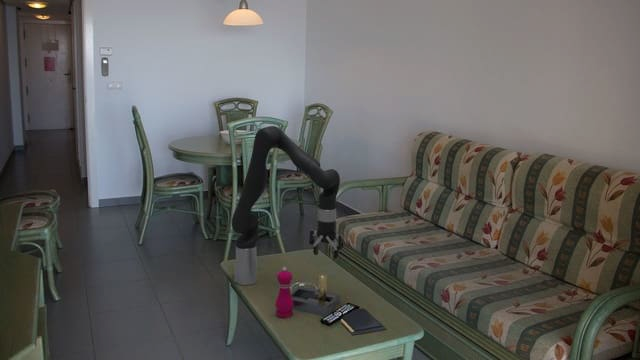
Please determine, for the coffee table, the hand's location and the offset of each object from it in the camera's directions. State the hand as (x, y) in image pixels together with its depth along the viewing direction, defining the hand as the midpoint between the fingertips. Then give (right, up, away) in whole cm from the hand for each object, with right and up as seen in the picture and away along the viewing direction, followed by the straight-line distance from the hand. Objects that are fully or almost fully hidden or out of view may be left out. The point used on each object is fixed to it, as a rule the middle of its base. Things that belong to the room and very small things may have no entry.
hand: (325, 256), depth 231 cm
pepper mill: (-17, -23, -5) cm, 29 cm away
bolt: (-2, -21, +2) cm, 21 cm away
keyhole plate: (-5, -21, +4) cm, 22 cm away
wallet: (+13, -25, -10) cm, 30 cm away
